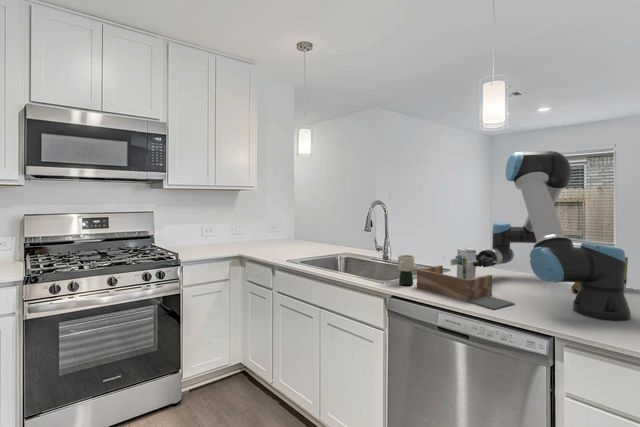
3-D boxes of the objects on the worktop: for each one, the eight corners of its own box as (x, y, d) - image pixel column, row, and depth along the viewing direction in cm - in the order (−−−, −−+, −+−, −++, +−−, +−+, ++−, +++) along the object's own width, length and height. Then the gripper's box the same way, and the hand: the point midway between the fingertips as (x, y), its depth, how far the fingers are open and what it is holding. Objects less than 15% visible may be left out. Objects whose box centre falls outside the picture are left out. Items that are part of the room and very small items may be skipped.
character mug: (404, 281, 166) (404, 253, 166) (418, 283, 162) (418, 255, 161) (393, 285, 158) (393, 256, 158) (407, 288, 154) (407, 258, 153)
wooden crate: (439, 282, 163) (439, 265, 163) (491, 295, 143) (492, 275, 142) (416, 287, 155) (416, 269, 154) (468, 301, 134) (468, 280, 134)
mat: (514, 304, 130) (514, 303, 130) (493, 310, 124) (493, 308, 124) (485, 296, 140) (485, 295, 140) (464, 301, 135) (464, 299, 135)
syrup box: (456, 280, 156) (456, 247, 156) (468, 279, 158) (468, 247, 157) (463, 283, 151) (464, 249, 150) (476, 283, 152) (476, 249, 151)
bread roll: (602, 307, 138) (613, 289, 137) (576, 294, 140) (586, 276, 139) (589, 299, 148) (599, 282, 147) (564, 288, 149) (574, 271, 148)
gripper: (511, 269, 156) (481, 276, 143) (469, 262, 172) (439, 268, 159) (511, 252, 155) (481, 258, 142) (469, 247, 172) (439, 251, 159)
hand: (459, 263), depth 151 cm, fingers closed on syrup box, 7 cm apart
